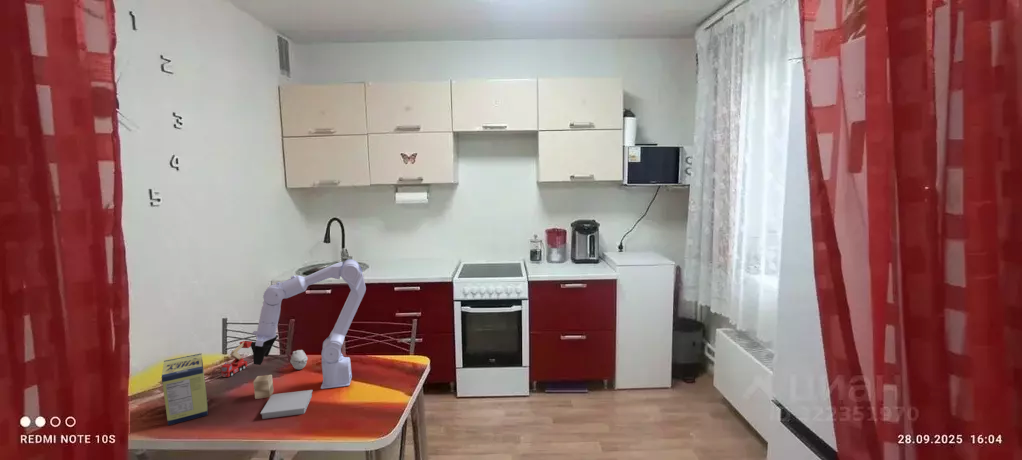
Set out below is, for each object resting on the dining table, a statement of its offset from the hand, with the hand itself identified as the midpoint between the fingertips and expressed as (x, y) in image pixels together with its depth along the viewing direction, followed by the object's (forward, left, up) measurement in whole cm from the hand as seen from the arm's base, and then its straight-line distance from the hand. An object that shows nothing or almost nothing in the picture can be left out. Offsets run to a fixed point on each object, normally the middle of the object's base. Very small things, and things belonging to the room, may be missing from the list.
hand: (260, 360), depth 160 cm
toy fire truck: (+16, -25, -12) cm, 32 cm away
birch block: (0, 0, -12) cm, 12 cm away
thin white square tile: (-10, +11, -13) cm, 20 cm away
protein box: (+21, +5, -12) cm, 25 cm away
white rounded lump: (-7, -20, -12) cm, 24 cm away
